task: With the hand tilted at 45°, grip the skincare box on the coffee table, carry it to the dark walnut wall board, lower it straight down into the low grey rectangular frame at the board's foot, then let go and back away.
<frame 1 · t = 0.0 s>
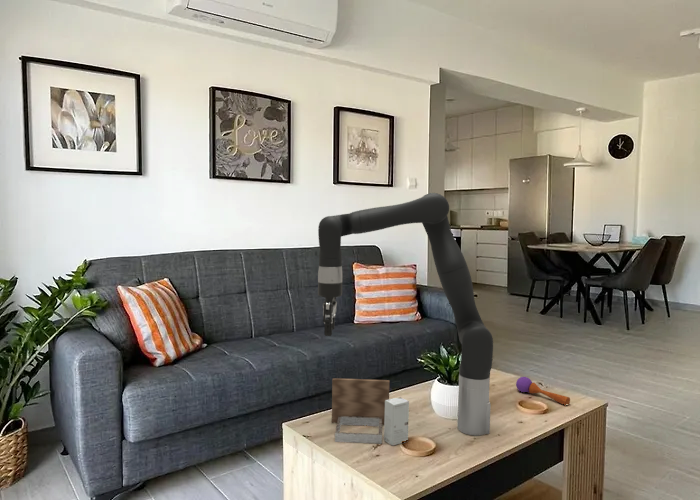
hand: (329, 332, 156), 29 cm above the table, tool pointing down, fingers open, 8 cm apart
grey rectangular frame: (359, 433, 151), on the table
wall board: (360, 422, 159), on the table
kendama: (541, 398, 184), on the table
skincare box: (395, 441, 147), on the table
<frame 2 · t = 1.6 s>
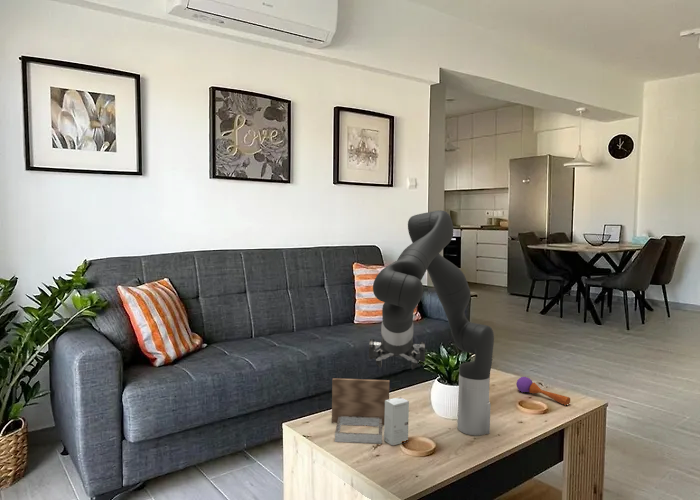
hand: (396, 365, 131), 27 cm above the table, tool tilted 45°, fingers open, 8 cm apart
nothing on the table moved.
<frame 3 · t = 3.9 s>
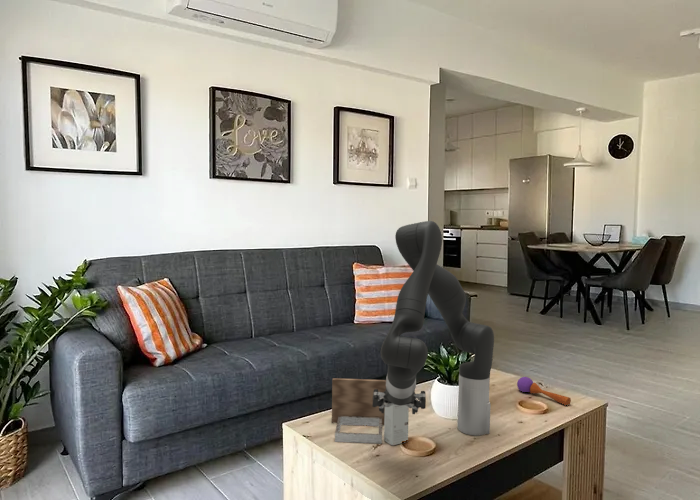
hand: (397, 410, 139), 12 cm above the table, tool tilted 45°, fingers open, 8 cm apart
nothing on the table moved.
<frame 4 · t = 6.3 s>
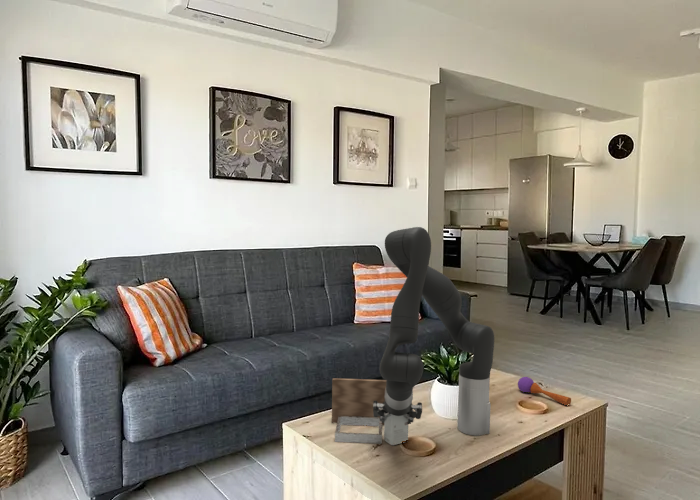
hand: (396, 420, 148), 6 cm above the table, tool tilted 45°, fingers closed on skincare box, 7 cm apart
skincare box: (395, 441, 147), on the table, touching gripper
everything else where it was.
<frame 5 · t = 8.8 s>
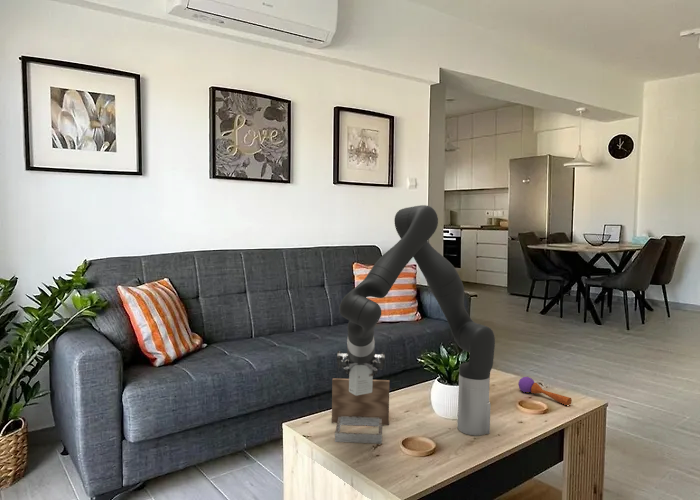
hand: (361, 372, 151), 18 cm above the table, tool tilted 45°, fingers closed on skincare box, 7 cm apart
skincare box: (360, 392, 150), point 13 cm above the table, touching gripper
everything else where it was.
when the fingers open (7 cm above the table, at t = 11.5 s): skincare box drops 1 cm, resting in grey rectangular frame.
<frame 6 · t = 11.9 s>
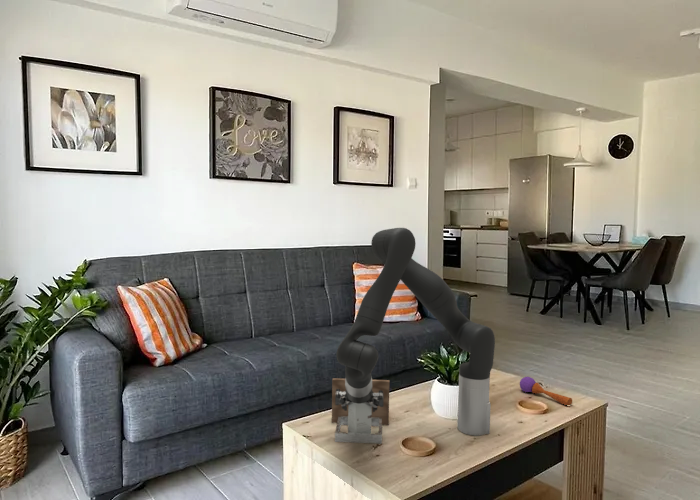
hand: (359, 408, 152), 7 cm above the table, tool tilted 45°, fingers open, 8 cm apart
skincare box: (359, 434, 151), resting in grey rectangular frame
everything else where it was.
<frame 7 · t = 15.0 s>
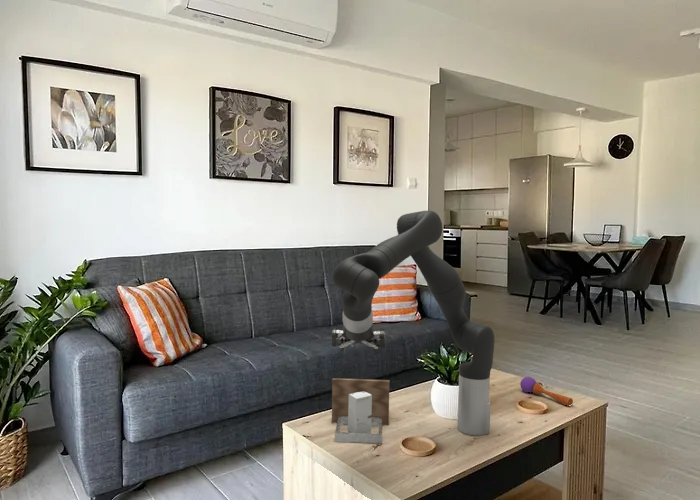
hand: (359, 351, 138), 28 cm above the table, tool tilted 45°, fingers open, 8 cm apart
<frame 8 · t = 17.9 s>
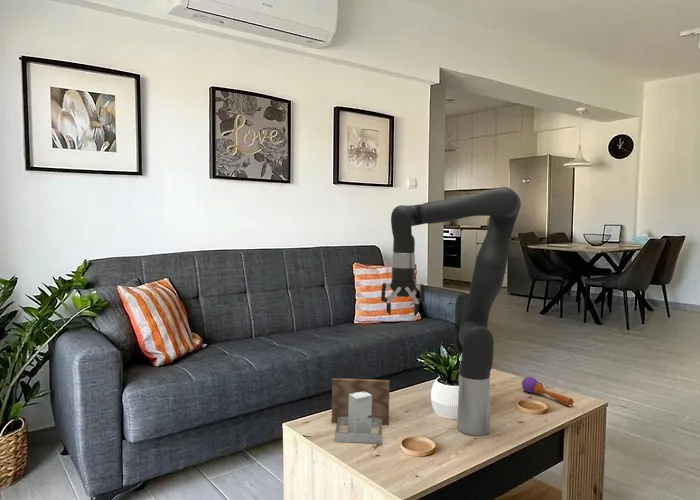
hand: (402, 314, 166), 33 cm above the table, tool pointing down, fingers open, 8 cm apart
at the end: skincare box inside the target area on the grey rectangular frame (0.3 cm from its centre), point 0.0 cm above the grey rectangular frame's base; skincare box tilted 0°; the gripper is holding nothing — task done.
